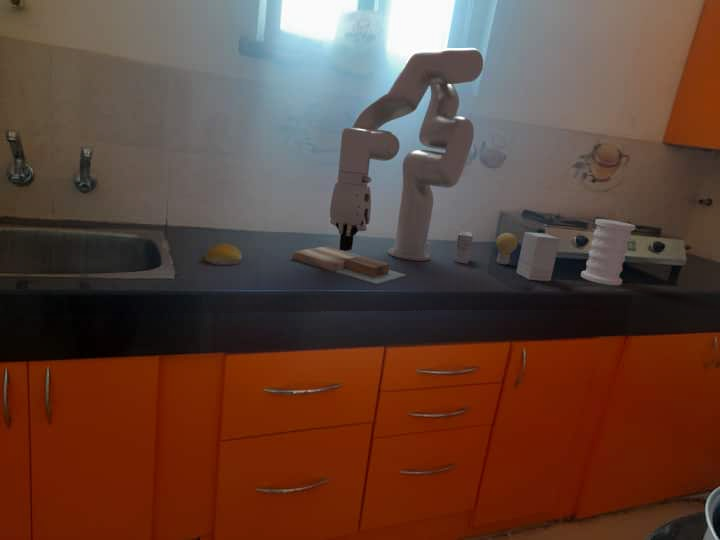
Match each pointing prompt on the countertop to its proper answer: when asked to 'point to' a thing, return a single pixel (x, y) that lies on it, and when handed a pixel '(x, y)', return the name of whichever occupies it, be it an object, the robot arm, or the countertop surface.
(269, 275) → the countertop surface
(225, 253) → the bread roll
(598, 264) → the decorative container
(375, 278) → the teal mat
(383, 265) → the walnut tile
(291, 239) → the countertop surface
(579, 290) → the countertop surface
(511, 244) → the light bulb
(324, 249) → the ash deck
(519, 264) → the supplement box
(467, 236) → the medicine box
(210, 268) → the countertop surface
